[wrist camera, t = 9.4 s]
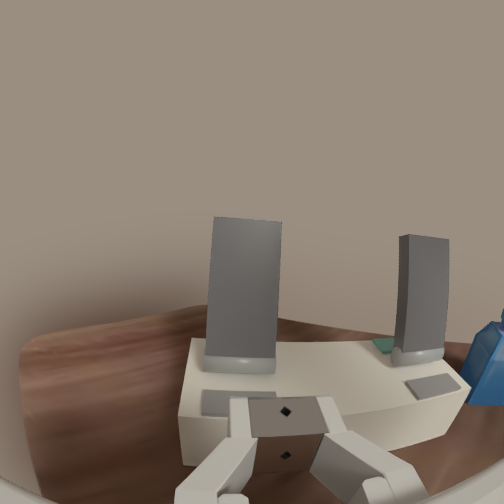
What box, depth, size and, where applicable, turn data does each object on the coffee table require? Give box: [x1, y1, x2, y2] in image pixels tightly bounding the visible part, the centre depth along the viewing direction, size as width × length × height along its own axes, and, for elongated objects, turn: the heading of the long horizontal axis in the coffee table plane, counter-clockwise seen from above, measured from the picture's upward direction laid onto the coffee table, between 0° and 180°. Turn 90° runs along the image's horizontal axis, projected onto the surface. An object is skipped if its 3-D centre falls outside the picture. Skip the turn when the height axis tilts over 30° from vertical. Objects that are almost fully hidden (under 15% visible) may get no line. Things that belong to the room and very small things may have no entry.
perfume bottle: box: [459, 309, 504, 406], centre depth 24 cm, size 6×6×12 cm
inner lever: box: [391, 234, 449, 367], centre depth 23 cm, size 5×2×11 cm, turn 94°
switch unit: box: [178, 338, 471, 466], centre depth 23 cm, size 24×10×6 cm, turn 94°
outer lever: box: [203, 217, 282, 374], centre depth 22 cm, size 5×2×11 cm, turn 94°
